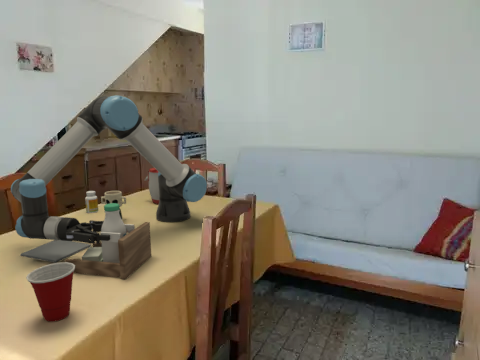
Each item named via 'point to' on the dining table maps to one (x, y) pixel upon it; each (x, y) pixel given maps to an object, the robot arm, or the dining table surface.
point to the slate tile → (55, 250)
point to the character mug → (114, 199)
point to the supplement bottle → (91, 202)
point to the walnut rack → (120, 256)
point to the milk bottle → (112, 225)
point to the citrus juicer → (153, 184)
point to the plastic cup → (53, 289)
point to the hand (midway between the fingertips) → (127, 233)
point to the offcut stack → (93, 254)
